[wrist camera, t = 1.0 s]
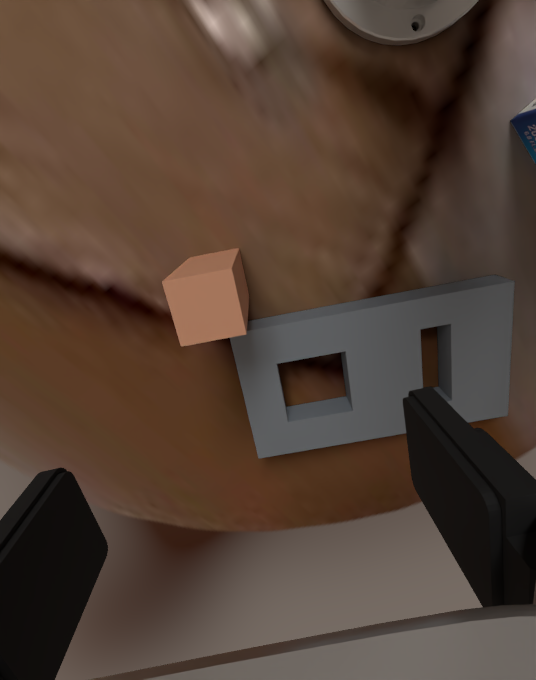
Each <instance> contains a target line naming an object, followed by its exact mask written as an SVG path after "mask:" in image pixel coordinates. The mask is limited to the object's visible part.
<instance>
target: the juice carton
mask: <svg viewBox="0 0 536 680" xmlns="http://www.w3.org/2000/svg"><path fill="white" fill-rule="evenodd" d="M510 122H511V124H512V125H513V127H514V129H515V131H516V132H517V134H518V136H519V137H520V139H521V141H522V142H523V144H524V146H525V147H526V149H527V151H528V153H529V154H530V156H531V158H532V159H533V161H534V163H535V164H536V99H534V100H533V101H532V102H531V103H530V104H529V105H528V106H526V107H525V108H524V109H523V110H522V111H521V112H520V113H518V114H517V115H516V116H515V117H514V118H513V119H512V120H511V121H510Z"/></svg>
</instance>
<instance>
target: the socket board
mask: <svg viewBox="0 0 536 680" xmlns="http://www.w3.org/2000/svg"><path fill="white" fill-rule="evenodd" d="M514 284H515V281H513V280H510V279H507V278H504V277H501V276H498V275H490V276H485V277H480V278H474V279H469V280H464V281H458V282H453V283H448V284H442V285H437V286H432V287H426V288H421V289H416V290H410V291H405V292H400V293H395V294H389V295H384V296H379V297H373V298H368V299H363V300H357V301H352V302H347V303H341V304H336V305H331V306H325V307H320V308H315V309H309V310H304V311H299V312H293V313H288V314H283V315H277V316H272V317H267V318H261V319H256V320H251V321H247V334H246V335H241V336H235V337H230V341H231V346H232V350H233V354H234V358H235V362H236V366H237V370H238V375H239V379H240V383H241V387H242V391H243V395H244V400H245V404H246V408H247V412H248V416H249V420H250V424H251V429H252V433H253V437H254V441H255V445H256V449H257V454H258V458H265V457H271V456H277V455H282V454H288V453H294V452H300V451H306V450H311V449H317V448H323V447H329V446H335V445H341V444H346V443H352V442H358V441H364V440H370V439H375V438H381V437H387V436H393V435H399V434H404V433H406V426H405V418H404V410H403V398H405V397H408V394H409V391H412V390H416V389H421V388H423V377H422V354H421V331H420V329H425V328H431V327H436V326H437V341H438V378H439V387H434V389H435V390H436V391H437V392H438V393H439V394H440V395H441V396H442V397H443V398H444V399H445V400H446V401H447V402H448V403H449V404H450V405H451V406H452V407H453V409H454V410H455V411H456V412H457V413H458V414H459V415H460V416H461V417H462V418H463V419H464V420H465V421H466V422H467V423H468V422H474V421H480V420H486V419H492V418H497V417H503V416H508V403H509V384H510V364H511V344H512V324H513V304H514ZM339 352H341V358H342V366H343V373H344V381H345V389H346V396H345V397H339V398H334V399H328V400H323V401H317V402H311V403H306V404H300V405H294V406H289V407H286V404H285V399H284V394H283V389H282V384H281V379H280V374H279V369H278V364H279V363H284V362H290V361H295V360H301V359H306V358H311V357H317V356H322V355H328V354H333V353H339Z"/></svg>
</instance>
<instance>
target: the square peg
mask: <svg viewBox="0 0 536 680" xmlns="http://www.w3.org/2000/svg"><path fill="white" fill-rule="evenodd" d="M162 283H163V287H164V290H165V294H166V297H167V300H168V304H169V307H170V311H171V314H172V317H173V321H174V324H175V328H176V331H177V335H178V338H179V341H180V345H181V347H182V346H187V345H193V344H198V343H203V342H209V341H214V340H219V339H225V338H230V337H235V336H241V335H246V334H247V321H248V309H249V292H248V288H247V283H246V278H245V273H244V269H243V264H242V259H241V254H240V250H239V248H236V249H231V250H226V251H221V252H216V253H210V254H205V255H200V256H195V257H190V258H188V259H187V260H186V261H185V262H184V263H183V264H182V265H180V266H179V267H178V268H177V269H176V270H175V271H174V272H173V273H171V274H170V275H169V276H168V277H167V278H166V279H165V280H163V281H162Z"/></svg>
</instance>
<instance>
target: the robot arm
mask: <svg viewBox="0 0 536 680" xmlns="http://www.w3.org/2000/svg"><path fill="white" fill-rule="evenodd" d="M324 2H325V3H326V5H327V6H328V7H329V9H330V10H331V12H332V13H333V15H334V16H335V17H336V18H337V19H338V20H339V21H340V22H342V23H343V24H344V25H345V26H346V27H347V28H348V29H349V30H351V31H352V32H354V33H356V34H357V35H359V36H361V37H362V38H364V39H367V40H370V41H373V42H376V43H379V44H385V45H399V46H400V45H406V44H413V43H418V42H421V41H423V40H426V39H428V38H431V37H434V36H436V35H438V34H439V33H441V32H442V31H444V30H445V29H447V28H449V27H450V26H452V25H453V24H454V23H456V22H457V21H458V20H459V19H460V18H461V17H462V16H464V15H465V14H466V13H467V12H468V11H469V10H470V9H471V8H472V7H473V6H474V5H475V4H476V3H477V2H478V0H324ZM411 25H415V26H416V31H414V30H413V29H412V26H411ZM403 410H404V418H405V426H406V434H407V443H408V451H409V459H410V467H411V476H412V481H413V484H414V487H415V489H416V491H417V493H418V495H419V497H420V498H421V500H422V502H423V504H424V505H425V507H426V509H427V511H428V512H429V514H430V516H431V518H432V519H433V521H434V523H435V524H436V526H437V528H438V530H439V532H440V533H441V535H442V537H443V538H444V540H445V542H446V543H447V545H448V547H449V549H450V551H451V552H452V554H453V556H454V557H455V559H456V561H457V563H458V565H459V566H460V568H461V570H462V572H463V573H464V575H465V577H466V578H467V580H468V582H469V584H470V585H471V587H472V589H473V591H474V592H475V594H476V596H477V598H478V599H479V601H480V603H481V605H482V606H483V607H482V608H475V609H465V610H458V611H451V612H445V613H439V614H434V615H428V616H422V617H416V618H411V619H404V620H398V621H392V622H386V623H381V624H375V625H369V626H364V627H359V628H354V629H348V630H343V631H338V632H332V633H327V634H322V635H317V636H311V637H306V638H301V639H295V640H290V641H285V642H279V643H274V644H269V645H263V646H258V647H253V648H248V649H243V650H237V651H233V652H227V653H222V654H217V655H212V656H207V657H202V658H196V659H191V660H186V661H181V662H176V663H171V664H166V665H161V666H155V667H151V668H145V669H140V670H135V671H130V672H125V673H120V674H115V675H110V676H105V677H100V678H95V679H90V680H536V480H535V479H534V478H533V477H532V476H531V475H530V474H529V473H528V472H527V471H526V470H525V469H524V468H523V467H522V466H521V465H520V464H519V463H518V462H517V461H516V460H515V459H514V458H513V457H512V456H511V455H510V454H509V453H507V452H506V451H505V450H504V449H503V448H502V447H501V446H500V445H499V444H498V443H497V442H496V441H495V440H494V439H493V438H492V437H491V436H490V435H489V434H488V433H487V432H485V431H484V430H483V429H481V428H475V429H473V428H472V427H471V426H470V425H469V424H468V423H467V422H466V421H465V420H464V419H463V418H462V417H461V416H460V415H459V414H458V413H457V412H456V411H455V410H454V409H453V407H452V406H451V405H450V404H449V403H448V402H447V401H446V400H445V399H444V398H443V397H442V396H441V395H440V394H439V393H438V392H437V391H436V390H435V389H434V388H432V387H425V388H421V389H416V390H412V391H409V394H408V397H405V398H403ZM107 551H108V545H107V542H106V539H105V537H104V535H103V533H102V532H101V529H100V527H99V525H98V523H97V521H96V519H95V517H94V515H93V513H92V511H91V509H90V507H89V505H88V503H87V501H86V499H85V497H84V495H83V493H82V491H81V489H80V487H79V485H78V483H77V481H76V479H75V477H74V475H73V474H72V473H71V472H67V470H66V469H64V468H57V469H53V470H48V471H43V472H40V473H39V474H38V475H37V476H36V477H35V478H34V479H33V480H32V482H31V483H30V484H29V485H28V487H27V488H26V489H25V490H24V492H23V493H22V494H21V496H20V497H19V498H18V499H17V500H16V501H15V503H14V504H13V505H12V506H11V508H10V509H9V510H8V511H7V513H6V514H5V515H4V516H3V518H2V519H1V520H0V680H55V678H56V675H57V673H58V670H59V668H60V666H61V663H62V661H63V659H64V656H65V654H66V652H67V649H68V647H69V644H70V642H71V640H72V637H73V635H74V632H75V630H76V628H77V625H78V623H79V621H80V618H81V616H82V613H83V611H84V609H85V606H86V604H87V602H88V599H89V597H90V595H91V592H92V589H93V587H94V585H95V583H96V580H97V578H98V575H99V573H100V570H101V568H102V566H103V564H104V561H105V559H106V556H107Z"/></svg>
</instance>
